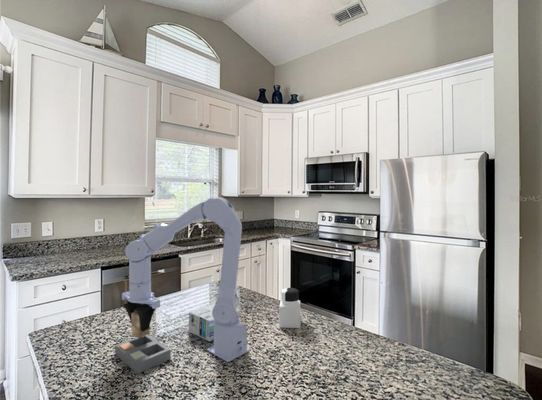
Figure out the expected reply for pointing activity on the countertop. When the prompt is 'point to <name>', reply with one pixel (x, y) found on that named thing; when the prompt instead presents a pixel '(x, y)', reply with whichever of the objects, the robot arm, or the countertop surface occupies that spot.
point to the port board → (147, 350)
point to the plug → (137, 326)
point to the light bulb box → (202, 322)
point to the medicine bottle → (289, 308)
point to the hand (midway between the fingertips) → (140, 328)
